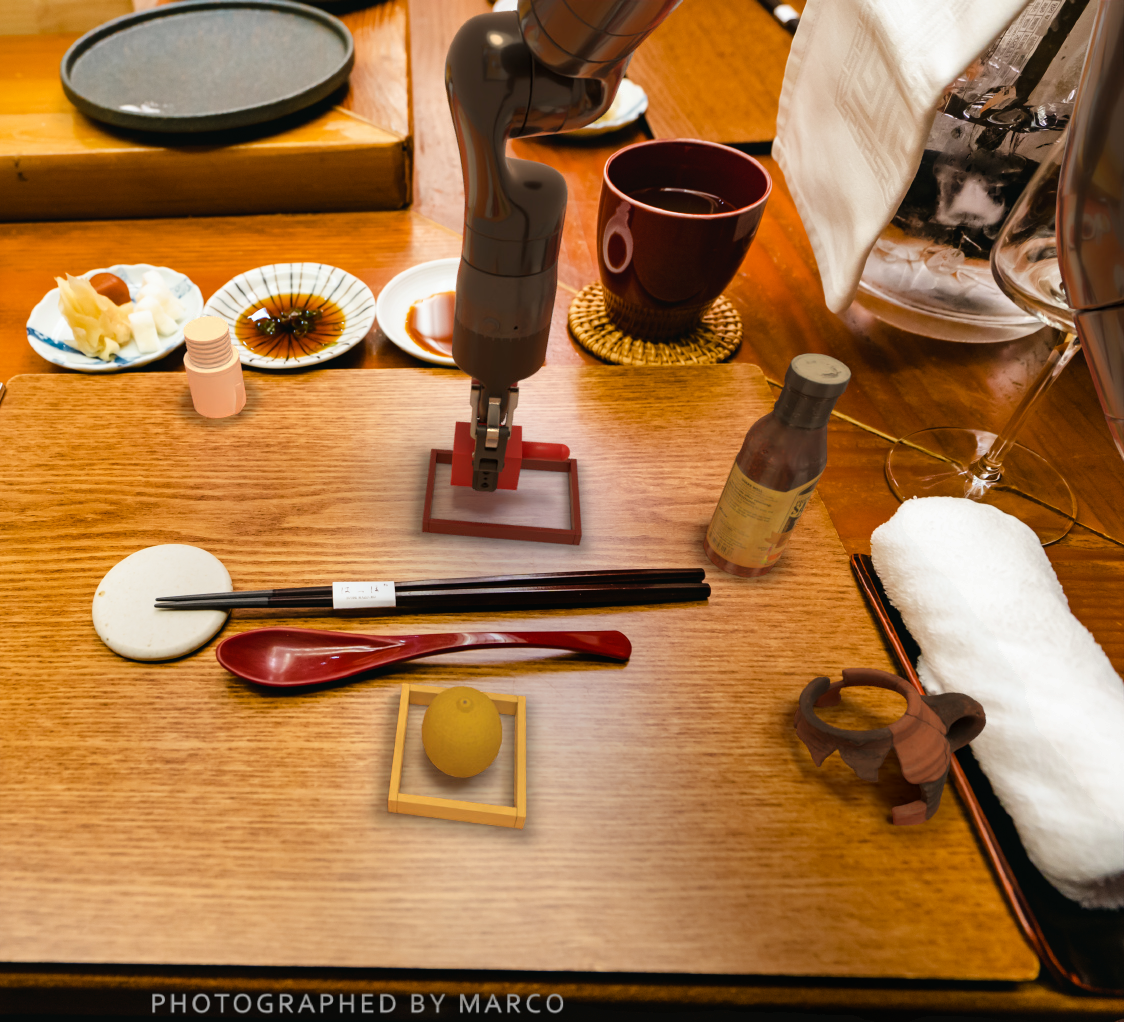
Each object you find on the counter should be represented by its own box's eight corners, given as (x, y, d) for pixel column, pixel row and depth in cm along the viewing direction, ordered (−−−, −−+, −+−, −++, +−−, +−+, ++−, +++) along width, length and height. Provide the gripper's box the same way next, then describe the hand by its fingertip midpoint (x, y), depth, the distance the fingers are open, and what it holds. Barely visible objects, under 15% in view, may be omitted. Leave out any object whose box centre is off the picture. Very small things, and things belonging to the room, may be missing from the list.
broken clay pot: (866, 860, 53) (846, 768, 50) (777, 770, 61) (756, 687, 59) (1034, 789, 52) (1024, 692, 50) (921, 709, 61) (906, 623, 58)
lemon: (437, 714, 60) (441, 654, 54) (507, 742, 58) (519, 684, 53) (407, 777, 57) (409, 720, 51) (481, 809, 55) (491, 754, 49)
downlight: (268, 405, 88) (257, 328, 81) (219, 436, 84) (203, 358, 77) (222, 377, 92) (208, 301, 85) (174, 405, 88) (154, 328, 81)
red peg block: (563, 461, 74) (570, 428, 71) (565, 494, 71) (572, 461, 68) (453, 453, 75) (455, 420, 72) (450, 485, 72) (452, 452, 69)
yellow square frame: (522, 713, 60) (525, 696, 59) (521, 832, 54) (526, 817, 52) (402, 700, 62) (402, 682, 60) (388, 815, 55) (387, 799, 54)
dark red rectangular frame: (573, 473, 79) (576, 458, 77) (578, 550, 72) (582, 535, 70) (430, 463, 81) (431, 448, 79) (421, 536, 74) (422, 521, 72)
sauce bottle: (773, 590, 68) (874, 406, 54) (697, 572, 70) (775, 389, 55) (775, 537, 72) (868, 353, 58) (702, 520, 74) (776, 338, 60)
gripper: (555, 364, 56) (526, 529, 68) (550, 263, 65) (525, 423, 78) (448, 358, 57) (438, 522, 69) (459, 259, 66) (449, 418, 79)
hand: (484, 469), depth 73 cm, fingers closed on red peg block, 4 cm apart
